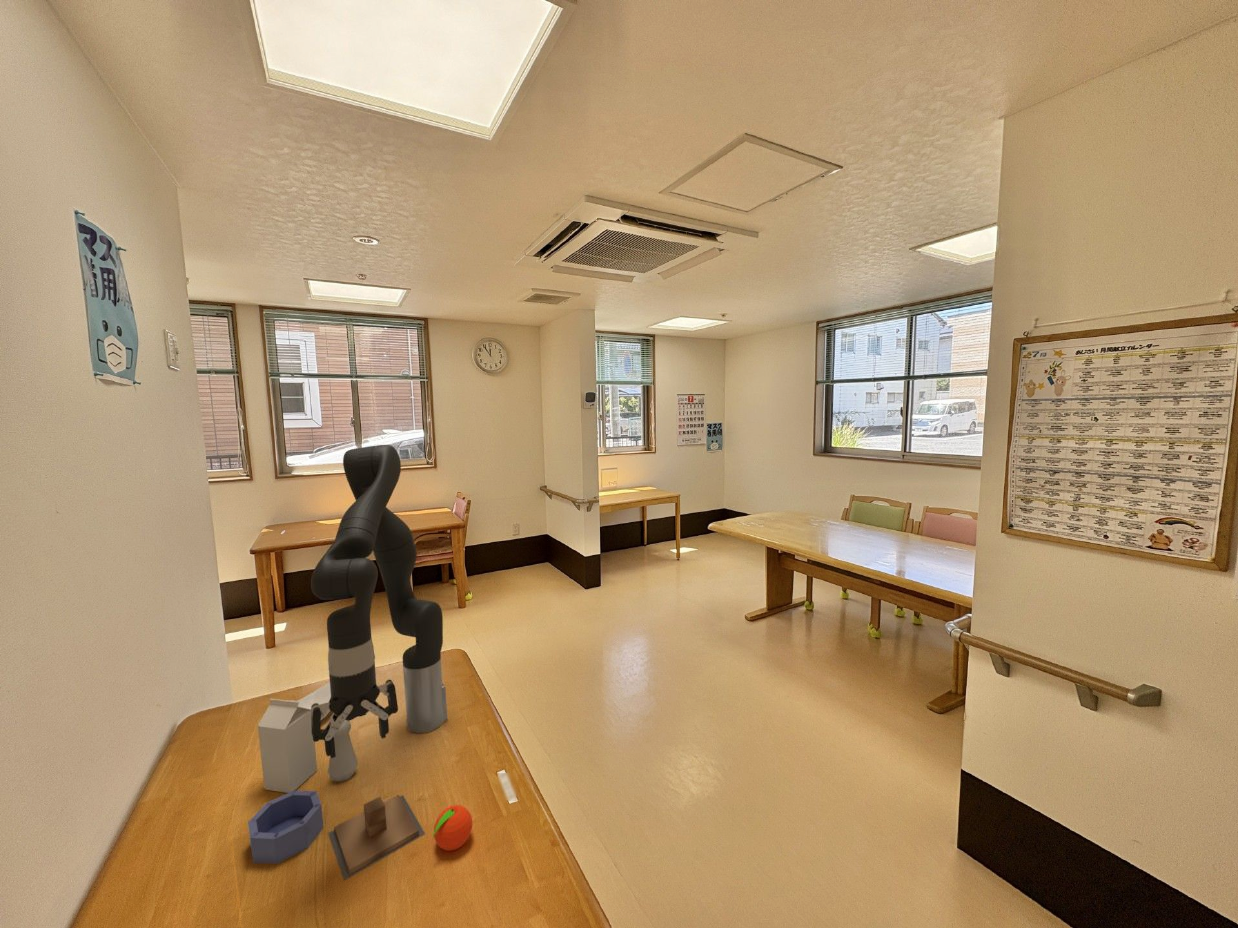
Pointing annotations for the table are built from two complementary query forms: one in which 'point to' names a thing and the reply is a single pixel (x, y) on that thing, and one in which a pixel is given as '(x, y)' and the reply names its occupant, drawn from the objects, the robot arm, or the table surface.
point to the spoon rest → (317, 698)
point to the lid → (375, 832)
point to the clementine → (453, 827)
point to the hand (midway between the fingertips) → (358, 745)
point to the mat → (345, 870)
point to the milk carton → (286, 746)
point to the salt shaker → (343, 755)
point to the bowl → (285, 826)
